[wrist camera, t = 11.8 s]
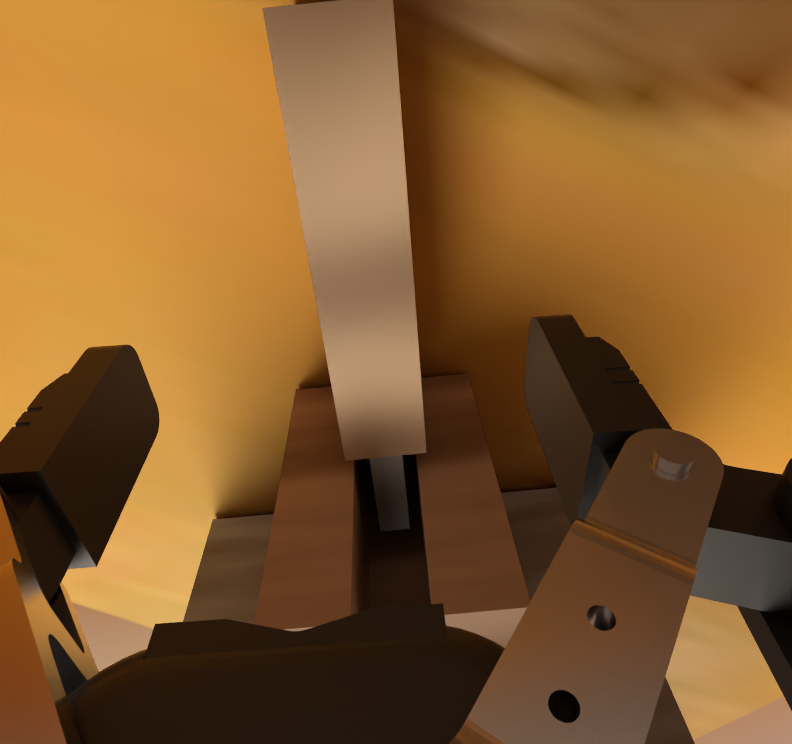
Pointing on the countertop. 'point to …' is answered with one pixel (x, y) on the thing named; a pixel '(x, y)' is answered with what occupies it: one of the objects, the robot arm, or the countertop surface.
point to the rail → (356, 225)
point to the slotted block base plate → (392, 536)
